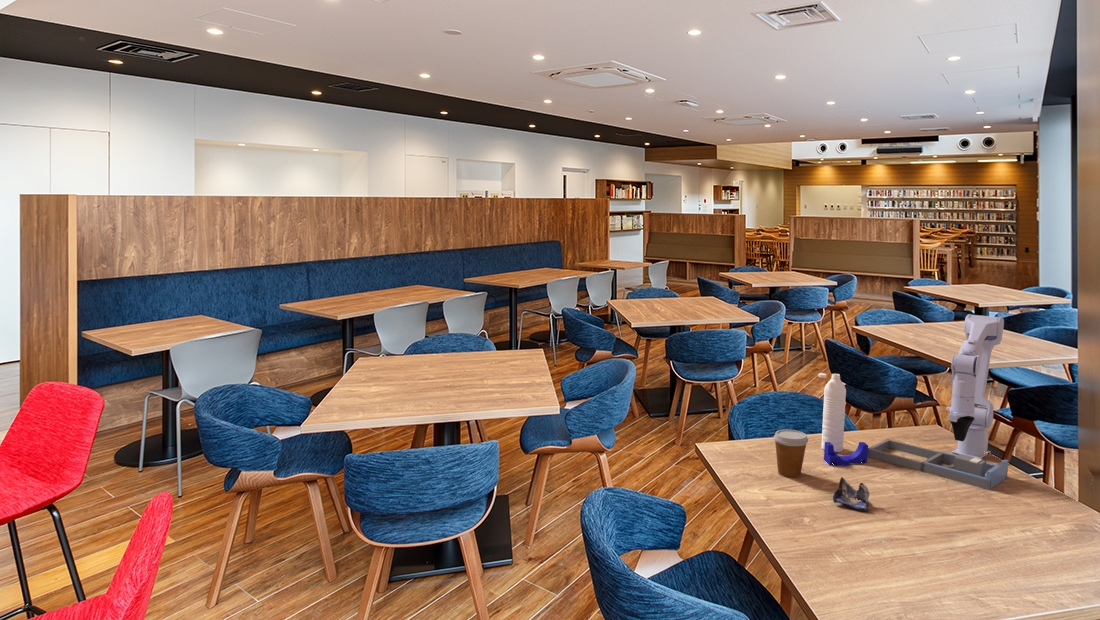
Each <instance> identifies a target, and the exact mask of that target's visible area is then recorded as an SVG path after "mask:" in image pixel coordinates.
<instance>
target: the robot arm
mask: <svg viewBox="0 0 1100 620" xmlns="http://www.w3.org/2000/svg"><path fill="white" fill-rule="evenodd" d="M964 319H965V320H964V326H963V327H964V329H963V330H964V334H965V336H966V339H965V340H964V341H963V342H962V343H961V345H960V348H959V350H958V352H957V354H956V355H953V357H952V359H951V360H952V361H951V367H950V369H951V379H952V388H951V389H952V390H951V401H950V406H947V407H945V410H946V411H949V414H948V421H949V422H950V424H951V427H952V432H953V436H954V440H955V441H957V447H956V448H955V449H954V450H952V451H951V454H954V455H959V454H961V455H965V456H969V457H973V458H974V457H976V458H980V459H983V458H985V457H986V456H988V455H989V454H991V450H988V445H989V435H990V433H989V430H988V429H989V428H991V427H992V425H993V420H994V405H993V403H992V402H991V401H990V400H989V399H988V398H987V397H986V396H985V395H986V389H987V382H988V376H989V370H990V369H989V368H990V362H991V356H992V352H993V349H994V347H995V346H997V345H1000V344H1001V342H1002V339H1003V333H1004V327H1005V325H1004V324H1005V320H1004V319H1005V318H1003V317H1002V316H990V315H989V316H988V315H979V314H970V313H968V314H967V315H966V316H965V318H964ZM984 451H985V452H988V453H989V454H987V453H985V452H984ZM984 453H985V454H984Z"/></svg>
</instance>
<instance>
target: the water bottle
mask: <svg viewBox="0 0 1100 620" xmlns="http://www.w3.org/2000/svg"><path fill="white" fill-rule="evenodd" d="M827 376H828V375H827V374H826V373H822V372H819V373H818V374H817V377H818V378H821V379H823V378H824V379H826V378H827ZM823 389H824V390H823V394H824V395H823V405H822V406H823V410H822V426H821V427H822V431H821V449H822V450H823V451H824V447H825V442H830V443H831V444H832V445H834V451H835V453H841V452H843V451H844V435H845V417H846V402H847V401H846V397H847V388H846V386H845V384H844V383H843V382H842V380H841V375H840V373H832V374H831V378H830V380H828V382H827V383H826V384H825V386H824V388H823Z"/></svg>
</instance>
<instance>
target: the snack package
mask: <svg viewBox="0 0 1100 620" xmlns="http://www.w3.org/2000/svg"><path fill="white" fill-rule="evenodd" d="M856 482H857V483H859V482H858V481H856ZM838 484H839V485H838V488H837V489H836V491H835V492H834V494H833V496H832V500H833V503H834V504H838V503H839V504H843V505H846V506H847V507H848V508H849V509H850V510H854V511H856V512H857V511H859V512H869V504H868V501H869V498H870V491H869V488H868V487H867V486H866V485H865V484H864V483H863V482H860V483H859V484H858V490H857V489H854V487H853V486H851V485H850V483H848V482H847V481H846V479H845V478H844V477H843V476H841V477H840V479H839V483H838ZM853 499H854V500H855V502H854V503H853V502H851V500H853Z"/></svg>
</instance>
